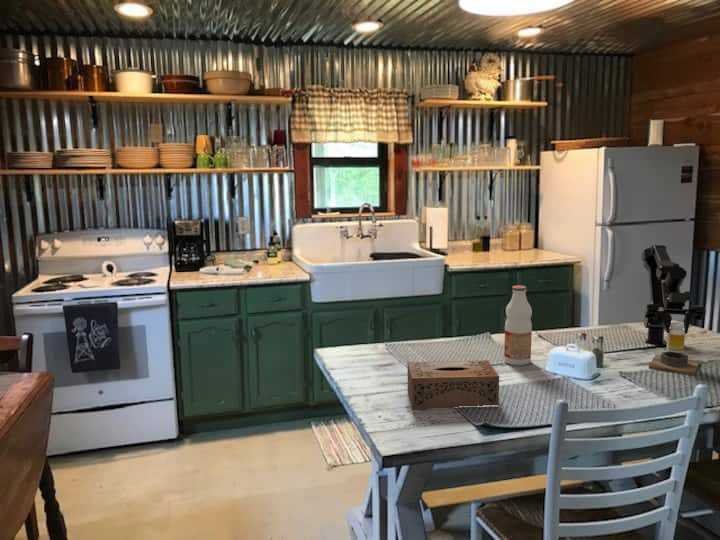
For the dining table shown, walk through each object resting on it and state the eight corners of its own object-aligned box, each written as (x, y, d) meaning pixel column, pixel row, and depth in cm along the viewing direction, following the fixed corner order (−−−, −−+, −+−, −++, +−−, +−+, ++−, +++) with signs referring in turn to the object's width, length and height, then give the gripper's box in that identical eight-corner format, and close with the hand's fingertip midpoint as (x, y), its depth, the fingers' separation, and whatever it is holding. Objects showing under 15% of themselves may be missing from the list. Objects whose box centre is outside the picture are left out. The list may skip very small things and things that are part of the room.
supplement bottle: (686, 352, 207) (689, 325, 205) (671, 353, 206) (673, 326, 205) (677, 347, 212) (680, 321, 210) (663, 348, 212) (665, 321, 210)
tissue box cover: (487, 390, 192) (488, 360, 190) (498, 408, 178) (499, 376, 176) (407, 392, 192) (407, 362, 190) (412, 410, 177) (412, 378, 176)
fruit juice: (520, 368, 211) (522, 290, 206) (498, 361, 218) (500, 286, 213) (536, 362, 217) (538, 286, 212) (514, 356, 224) (516, 282, 219)
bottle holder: (655, 357, 220) (656, 346, 219) (698, 363, 212) (699, 352, 211) (648, 368, 208) (649, 357, 208) (694, 375, 200) (695, 364, 200)
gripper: (648, 281, 211) (652, 320, 202) (706, 283, 206) (714, 323, 198) (642, 298, 220) (646, 335, 211) (698, 300, 215) (704, 338, 207)
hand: (677, 333), depth 207 cm, fingers closed on supplement bottle, 5 cm apart
